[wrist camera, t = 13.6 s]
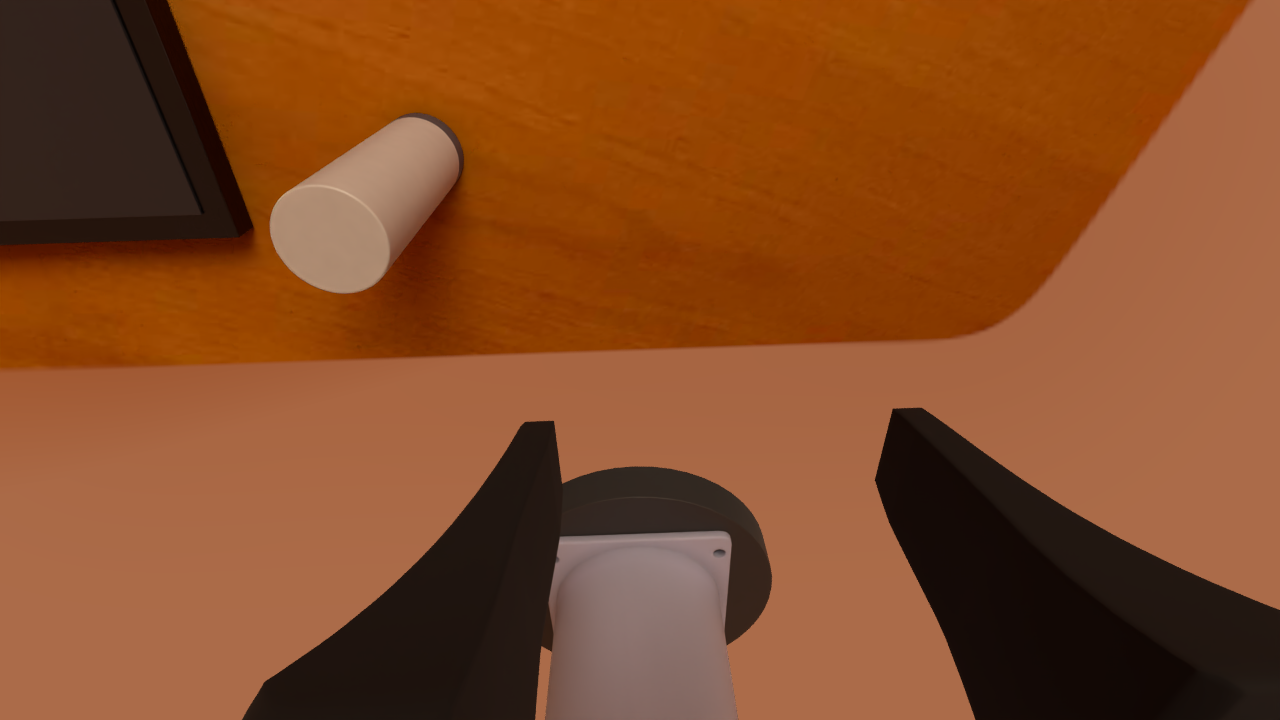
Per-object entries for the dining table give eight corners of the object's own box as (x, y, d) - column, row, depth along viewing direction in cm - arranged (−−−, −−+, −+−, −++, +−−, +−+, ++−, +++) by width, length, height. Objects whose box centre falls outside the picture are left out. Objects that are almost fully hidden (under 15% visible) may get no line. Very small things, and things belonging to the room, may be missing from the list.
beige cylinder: (470, 191, 19) (401, 292, 13) (394, 194, 19) (291, 296, 13) (455, 111, 18) (373, 182, 12) (374, 113, 18) (250, 186, 12)
